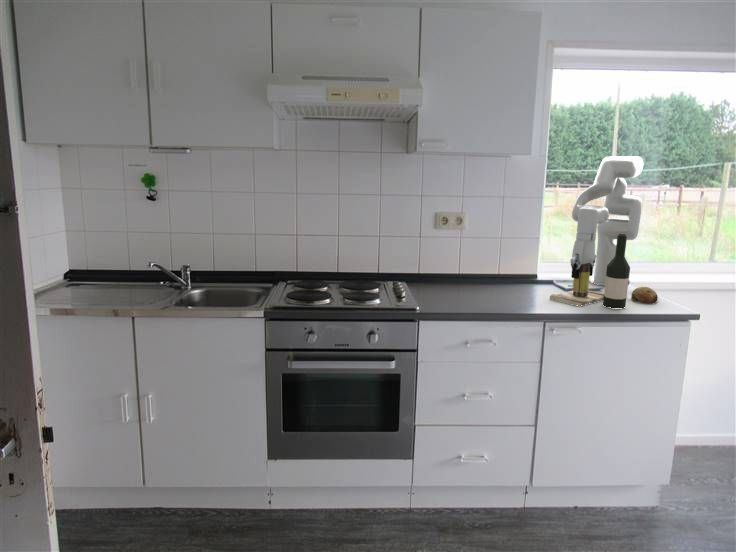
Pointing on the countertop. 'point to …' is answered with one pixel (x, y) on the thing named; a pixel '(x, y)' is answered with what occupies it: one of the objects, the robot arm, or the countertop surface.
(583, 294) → the sauce bottle
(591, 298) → the board
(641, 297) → the bread roll
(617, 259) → the wine bottle
